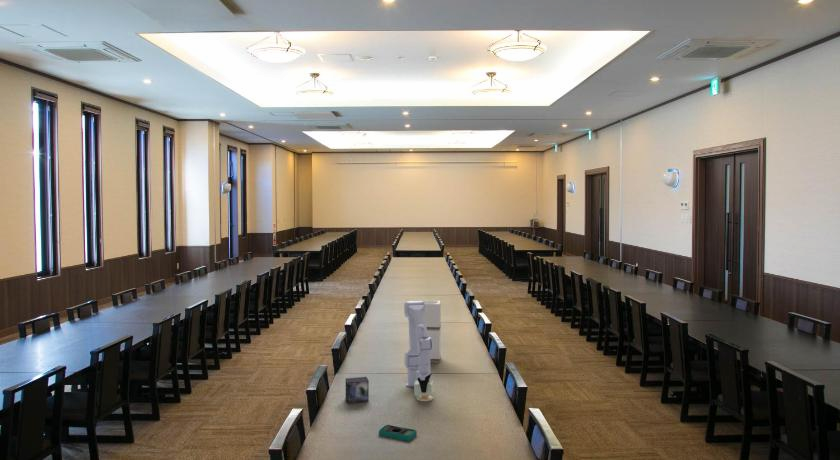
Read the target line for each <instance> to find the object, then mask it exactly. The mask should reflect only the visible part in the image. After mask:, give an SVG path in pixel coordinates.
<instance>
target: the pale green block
mask: <svg viewBox="0 0 840 460" xmlns="http://www.w3.org/2000/svg"><path fill="white" fill-rule="evenodd" d="M413 390H414V392H413V393H414V396H416V397H418V396H432V397H433V393H434V380H429V381H428V384H427V390H426V393H422V392H421V388H420V384H419V382H418V381H415V383H414V386H413Z"/></svg>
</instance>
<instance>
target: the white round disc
mask: <svg viewBox="0 0 840 460" xmlns="http://www.w3.org/2000/svg"><path fill="white" fill-rule="evenodd" d="M433 399H434V397H433V395H432V396H429V397H428V398H426V399H424V398H422V397H421V396H416V400H417V401H418V402H419V401H420V402H430V401H432V400H433Z"/></svg>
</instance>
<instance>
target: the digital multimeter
mask: <svg viewBox="0 0 840 460" xmlns="http://www.w3.org/2000/svg"><path fill="white" fill-rule="evenodd" d="M417 433H418V432H417V430H416V429H413V428H407V427H402V426H401V427H400V426H397V425H396V426H395V425H393V424H392V425H391V424H385V425H383V426H382V427H381V428H380V429H379V430H378V436H379V437H380V436H381V437H384V436H386V437H385V438H391V439H396V440H400V441H404V442H410V441H412V440H413V439H415V438H416V436H417Z"/></svg>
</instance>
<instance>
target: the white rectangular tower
mask: <svg viewBox="0 0 840 460" xmlns="http://www.w3.org/2000/svg"><path fill="white" fill-rule="evenodd" d="M422 301H423V302H424V304H425V311H424V313H423V314H422V317H423V324H424V326H426V328H427V332H428V336H430V338H431V341H432V349H430V363H436V364H437V363H440V362H441V358H442V357H441V356H442V355H441V347H442V346H441V343H442V342H441V337H442V336H441V333H442V332H441V327H442V326H441V325H442V322H441V321H442V320H441V319H442V318H441V317H442V313H441V310H442V309H441V307H442V304H441V300H422Z"/></svg>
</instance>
